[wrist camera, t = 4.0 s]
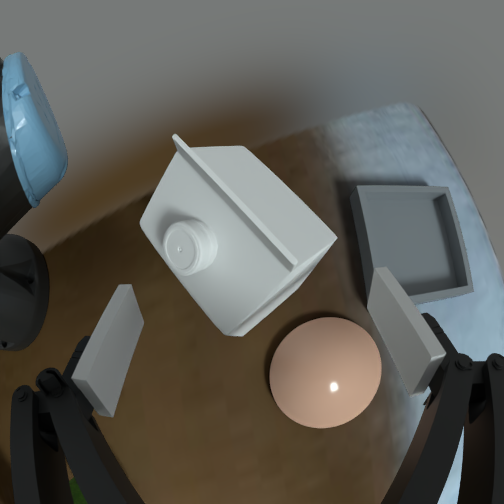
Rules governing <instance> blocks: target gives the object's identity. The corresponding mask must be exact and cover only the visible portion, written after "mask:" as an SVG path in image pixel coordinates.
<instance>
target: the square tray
mask: <svg viewBox="0 0 504 504" xmlns="http://www.w3.org/2000/svg"><path fill="white" fill-rule="evenodd" d="M349 198H350V203H351V208H352V212H353V217H354V222H355V227H356V232H357V238H358V243H359V249H360V255H361V261H362V267H363V274H364V281H365V288H366V295H367V303H368V299H369V294H370V289H371V284H372V279H373V273H374V268H380V267H387V268H388V269H389V271H390V272H391V273H392V275H393V276H394V277H395V279H396V280H397V281H398V283H399V284H400V285H401V287H402V288H403V289H404V291H405V292H406V294H407V295H408V296H409V298H410V299H411V301H412V302H413V303H414V305H416V304H422V303H427V302H432V301H437V300H442V299H447V298H452V297H457V296H461V295H464V294H468V293H471V292H474V289H473V283H472V277H471V272H470V267H469V262H468V257H467V252H466V248H465V243H464V239H463V235H462V231H461V228H460V224H459V220H458V217H457V213H456V210H455V207H454V203H453V200H452V197H451V194H450V191H449V188H448V187H438V186H400V185H357V186H356V187H355V189H354V191H353V192H352V194H351V196H350V197H349ZM368 312H369V311H368Z"/></svg>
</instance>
